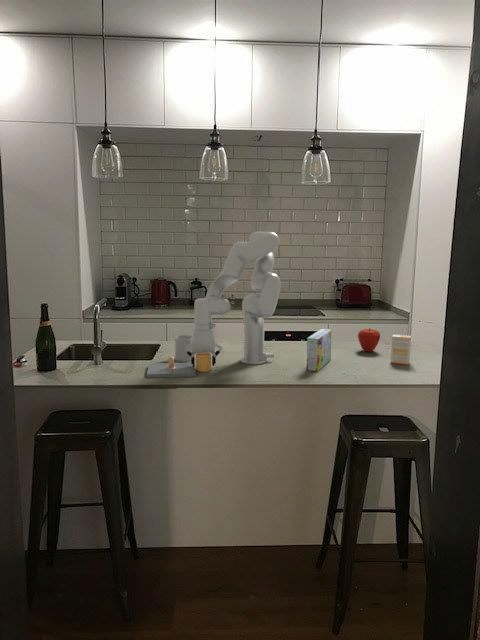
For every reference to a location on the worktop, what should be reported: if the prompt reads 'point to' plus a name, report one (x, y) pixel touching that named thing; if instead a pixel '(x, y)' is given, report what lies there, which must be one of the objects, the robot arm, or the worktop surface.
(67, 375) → the worktop surface
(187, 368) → the base
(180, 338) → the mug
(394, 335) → the supplement box
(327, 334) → the snack box
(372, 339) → the apple
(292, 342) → the worktop surface
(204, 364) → the orange cylinder
